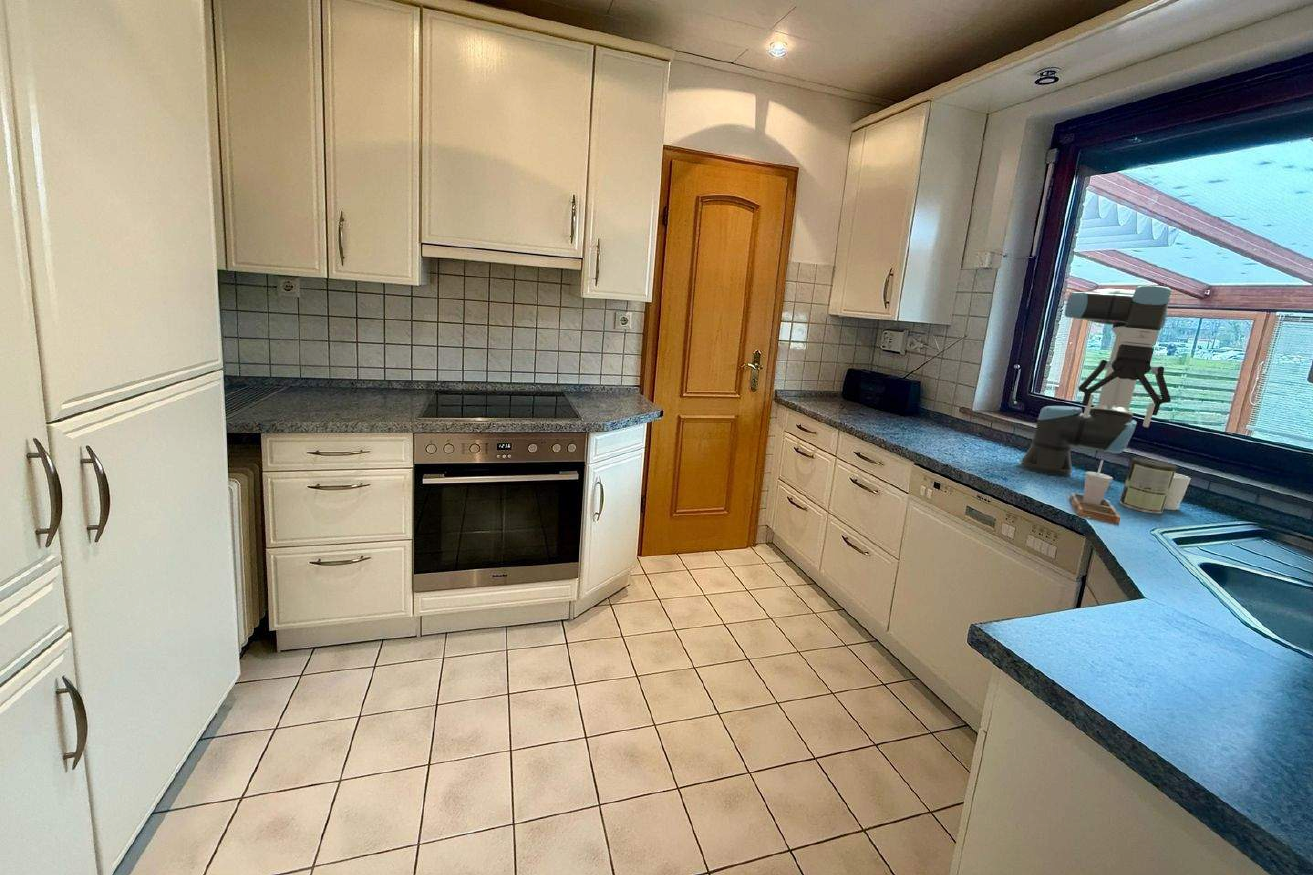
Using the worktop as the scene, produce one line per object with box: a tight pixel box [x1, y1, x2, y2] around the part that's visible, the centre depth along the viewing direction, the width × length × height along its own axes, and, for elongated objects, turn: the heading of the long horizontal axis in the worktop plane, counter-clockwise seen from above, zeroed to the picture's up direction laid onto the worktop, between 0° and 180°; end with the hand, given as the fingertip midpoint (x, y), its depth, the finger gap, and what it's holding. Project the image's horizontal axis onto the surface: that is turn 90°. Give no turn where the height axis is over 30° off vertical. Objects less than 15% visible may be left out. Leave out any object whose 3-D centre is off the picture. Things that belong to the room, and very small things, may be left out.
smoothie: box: [1083, 459, 1114, 505], centre depth 166 cm, size 6×6×14 cm
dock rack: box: [1068, 492, 1122, 525], centre depth 164 cm, size 18×9×2 cm, turn 151°
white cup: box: [1163, 472, 1191, 511], centre depth 175 cm, size 8×8×10 cm
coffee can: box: [1119, 456, 1178, 515], centre depth 171 cm, size 10×10×14 cm
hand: (1114, 422), depth 162 cm, fingers open, 13 cm apart
